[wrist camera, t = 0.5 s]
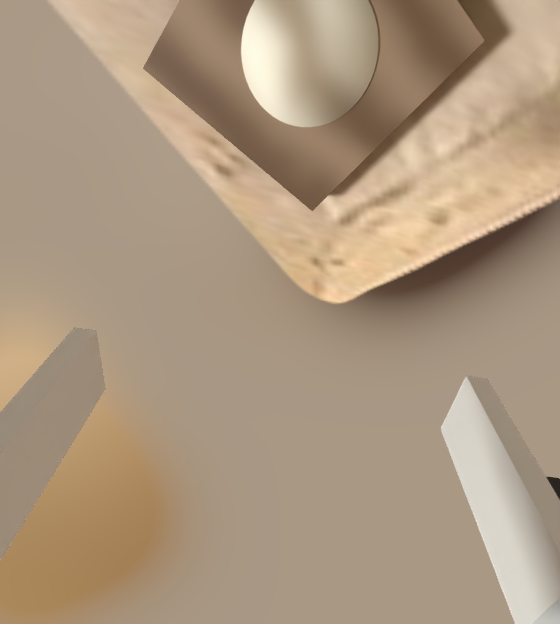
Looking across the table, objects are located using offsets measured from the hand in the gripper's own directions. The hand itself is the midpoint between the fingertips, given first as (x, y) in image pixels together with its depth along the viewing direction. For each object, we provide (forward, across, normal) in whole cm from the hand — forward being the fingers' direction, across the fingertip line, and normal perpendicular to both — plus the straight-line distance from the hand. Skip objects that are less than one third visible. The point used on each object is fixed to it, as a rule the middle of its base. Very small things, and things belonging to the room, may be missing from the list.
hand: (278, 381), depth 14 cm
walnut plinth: (+23, 0, +11) cm, 26 cm away
